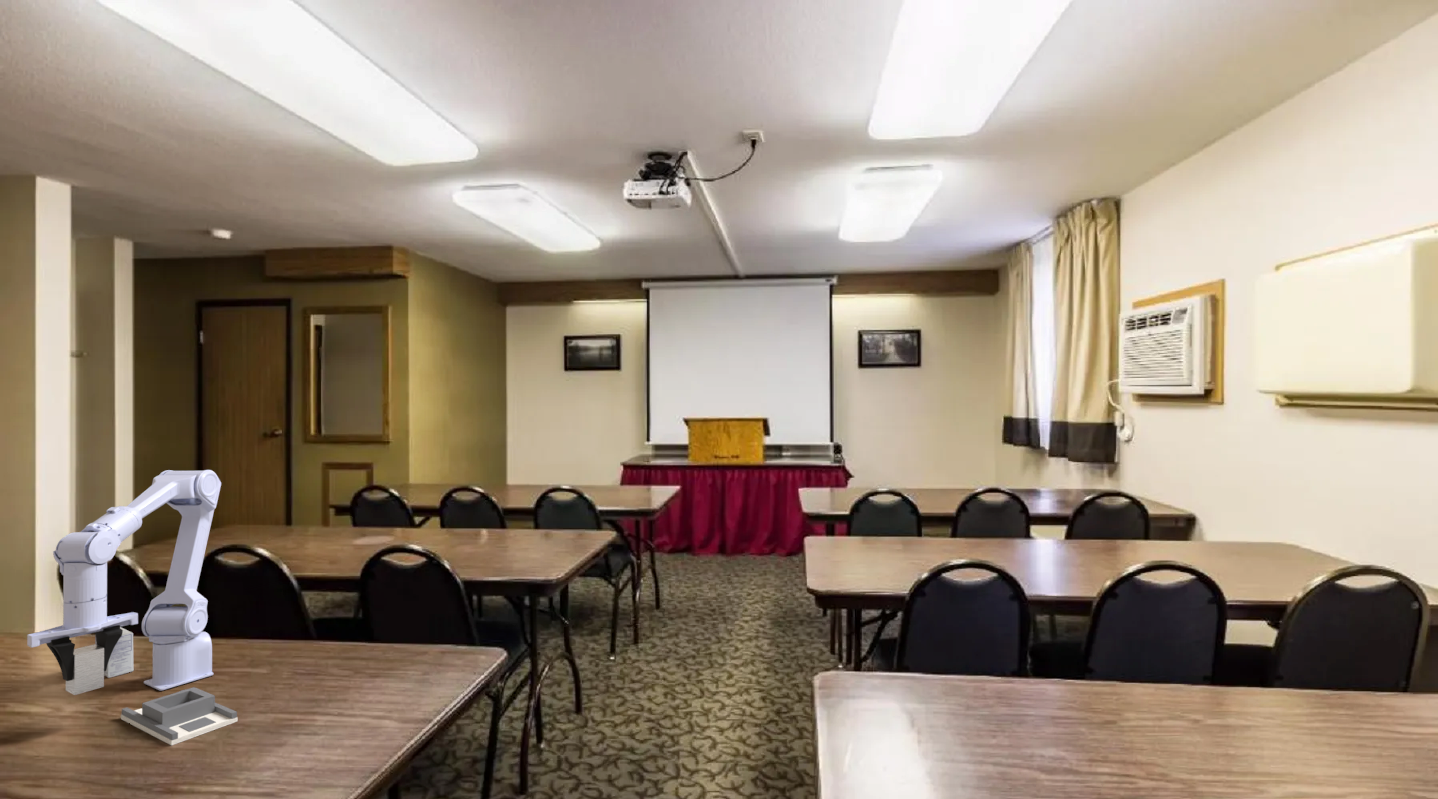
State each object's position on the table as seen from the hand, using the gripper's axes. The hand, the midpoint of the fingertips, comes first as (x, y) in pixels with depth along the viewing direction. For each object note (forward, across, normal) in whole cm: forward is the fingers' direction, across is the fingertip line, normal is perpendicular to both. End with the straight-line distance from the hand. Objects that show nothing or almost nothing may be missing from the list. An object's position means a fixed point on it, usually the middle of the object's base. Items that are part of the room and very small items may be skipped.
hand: (85, 674), depth 120 cm
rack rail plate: (+9, +10, -12) cm, 18 cm away
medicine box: (+10, +14, +28) cm, 33 cm away
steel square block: (+2, 0, 0) cm, 2 cm away
